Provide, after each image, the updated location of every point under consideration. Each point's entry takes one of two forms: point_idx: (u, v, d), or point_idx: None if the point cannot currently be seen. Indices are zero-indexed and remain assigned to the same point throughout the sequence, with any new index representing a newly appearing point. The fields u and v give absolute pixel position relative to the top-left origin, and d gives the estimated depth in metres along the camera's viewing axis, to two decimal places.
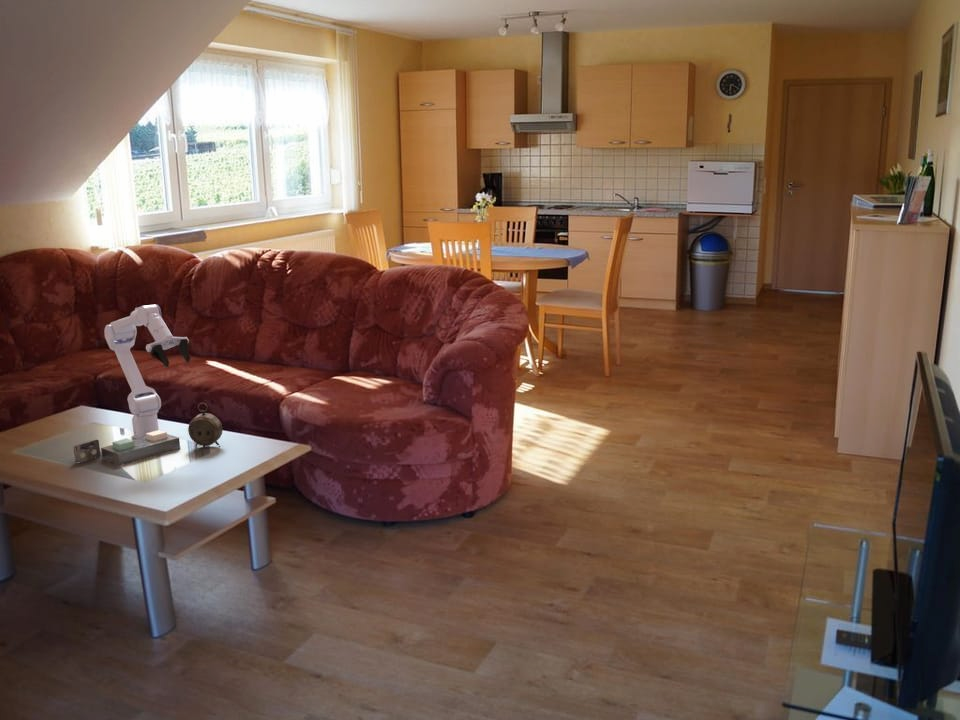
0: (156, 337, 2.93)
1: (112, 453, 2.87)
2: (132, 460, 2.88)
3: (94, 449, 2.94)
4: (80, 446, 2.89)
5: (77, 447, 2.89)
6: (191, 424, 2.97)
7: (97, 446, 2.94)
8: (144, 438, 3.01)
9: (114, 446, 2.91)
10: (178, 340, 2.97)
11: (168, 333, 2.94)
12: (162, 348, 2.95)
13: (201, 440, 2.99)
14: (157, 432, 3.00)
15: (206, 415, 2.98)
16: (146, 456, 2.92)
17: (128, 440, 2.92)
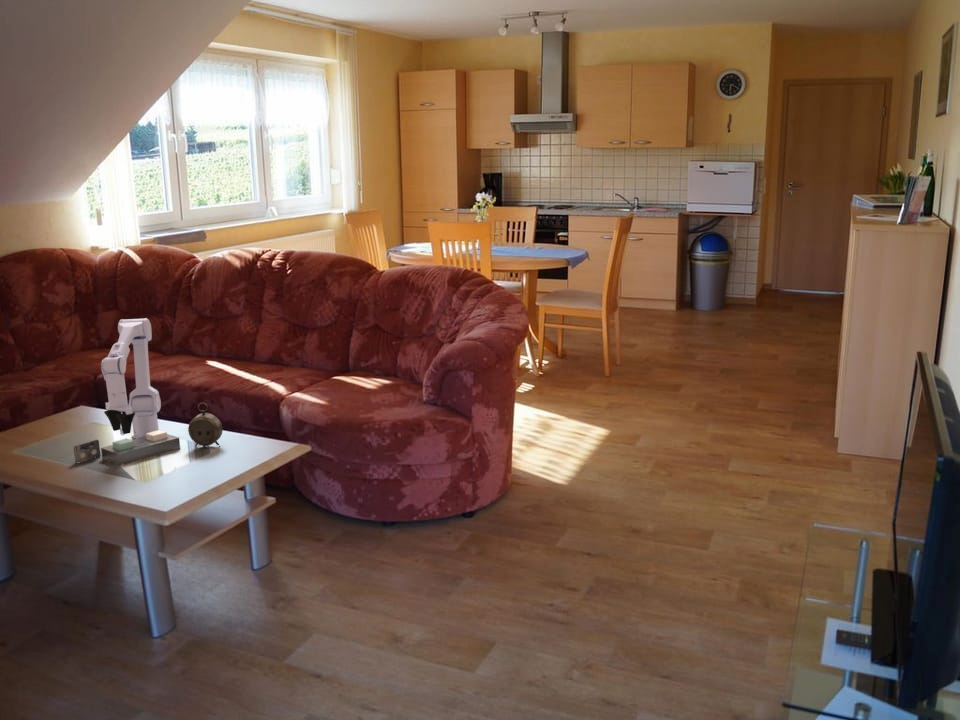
0: None
1: (112, 453, 2.87)
2: (132, 460, 2.88)
3: (94, 449, 2.94)
4: (80, 446, 2.89)
5: (77, 447, 2.89)
6: (191, 424, 2.97)
7: (97, 446, 2.94)
8: (144, 438, 3.01)
9: (114, 446, 2.91)
10: None
11: (111, 403, 2.86)
12: None
13: (201, 440, 2.99)
14: (157, 432, 3.00)
15: (206, 415, 2.98)
16: (146, 456, 2.92)
17: (128, 440, 2.92)
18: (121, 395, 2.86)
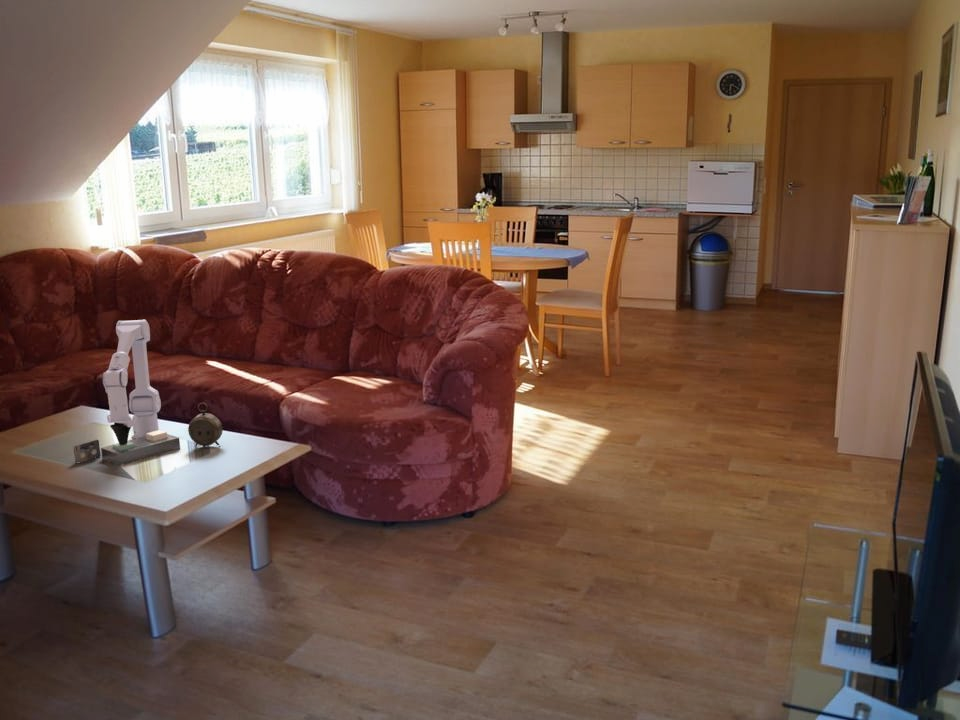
0: None
1: (112, 453, 2.87)
2: (132, 460, 2.88)
3: (94, 449, 2.94)
4: (80, 446, 2.89)
5: (77, 447, 2.89)
6: (191, 424, 2.97)
7: (97, 446, 2.94)
8: (144, 438, 3.01)
9: None
10: None
11: (113, 415, 2.87)
12: None
13: (201, 440, 2.99)
14: (157, 432, 3.00)
15: (206, 415, 2.98)
16: (146, 456, 2.92)
17: (128, 443, 2.92)
18: (123, 408, 2.87)
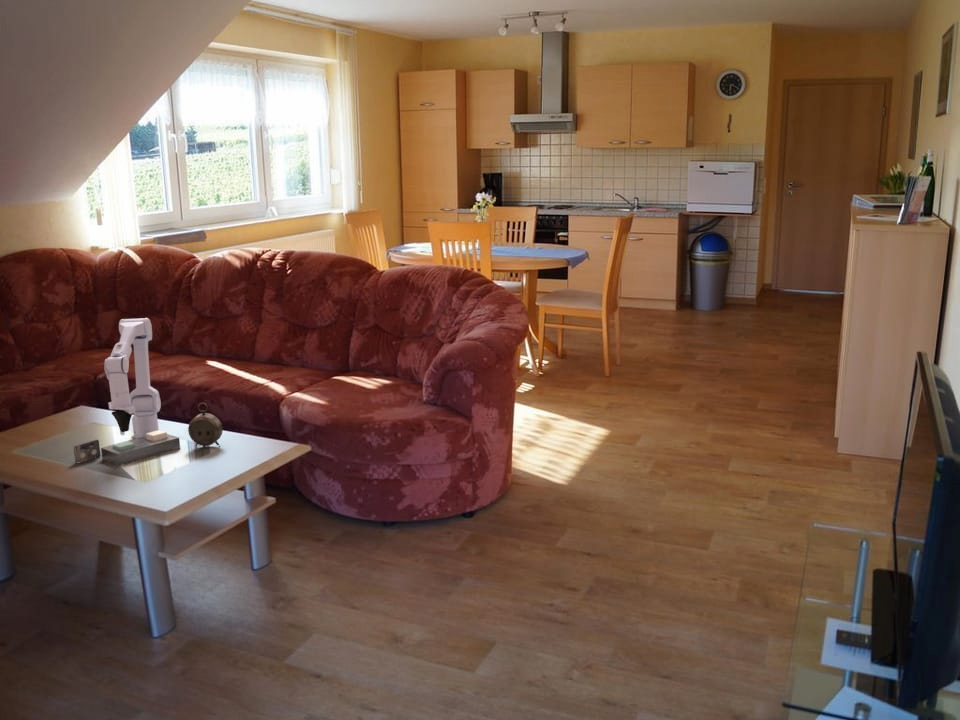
0: None
1: (112, 453, 2.87)
2: (132, 460, 2.88)
3: (94, 449, 2.94)
4: (80, 446, 2.89)
5: (77, 447, 2.89)
6: (191, 424, 2.97)
7: (97, 446, 2.94)
8: (144, 438, 3.01)
9: None
10: None
11: (114, 402, 2.87)
12: None
13: (201, 440, 2.99)
14: (157, 432, 3.00)
15: (206, 415, 2.98)
16: (146, 456, 2.92)
17: (128, 443, 2.92)
18: (124, 395, 2.87)
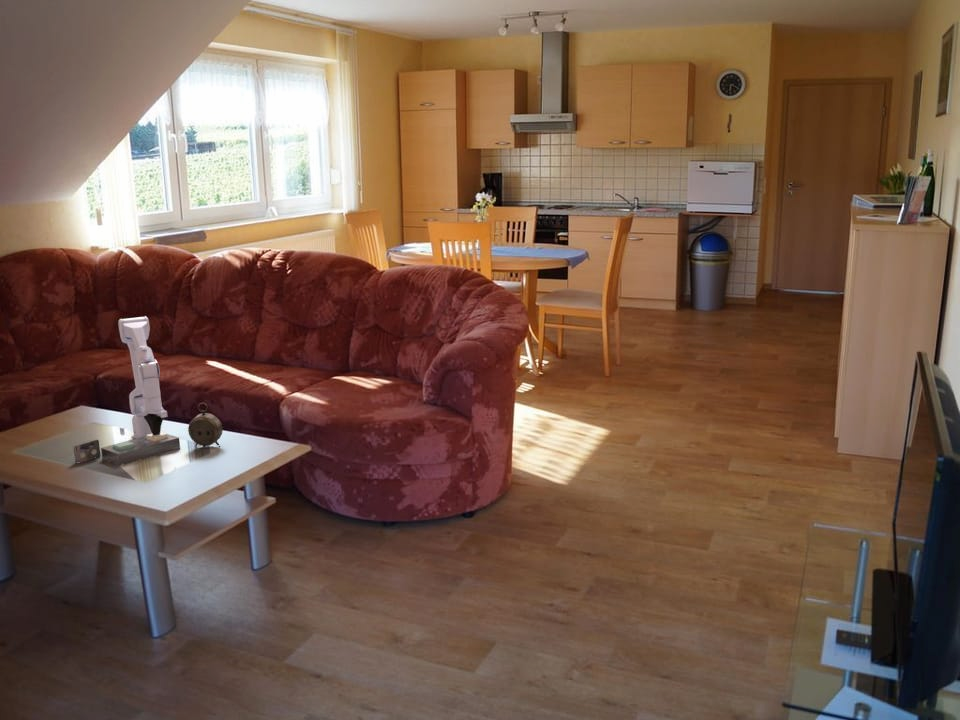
0: None
1: (112, 453, 2.87)
2: (132, 460, 2.88)
3: (94, 449, 2.94)
4: (80, 446, 2.89)
5: (77, 447, 2.89)
6: (191, 424, 2.97)
7: (97, 446, 2.94)
8: (144, 438, 3.01)
9: None
10: None
11: (146, 406, 2.95)
12: None
13: (201, 440, 2.99)
14: None
15: (206, 415, 2.98)
16: (146, 456, 2.92)
17: (128, 443, 2.92)
18: (156, 399, 2.96)
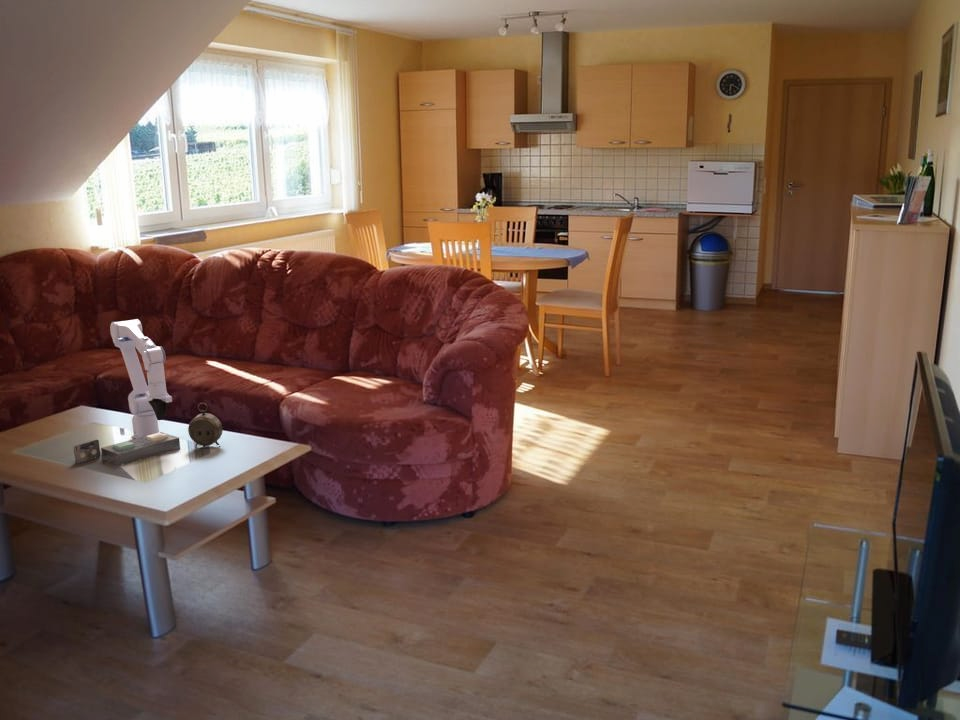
0: None
1: (112, 453, 2.87)
2: (132, 460, 2.88)
3: (94, 449, 2.94)
4: (80, 446, 2.89)
5: (77, 447, 2.89)
6: (191, 424, 2.97)
7: (97, 446, 2.94)
8: (144, 438, 3.01)
9: None
10: None
11: (151, 391, 3.00)
12: None
13: (201, 440, 2.99)
14: (157, 435, 3.01)
15: (206, 415, 2.98)
16: (146, 456, 2.92)
17: (128, 443, 2.92)
18: (161, 384, 3.00)
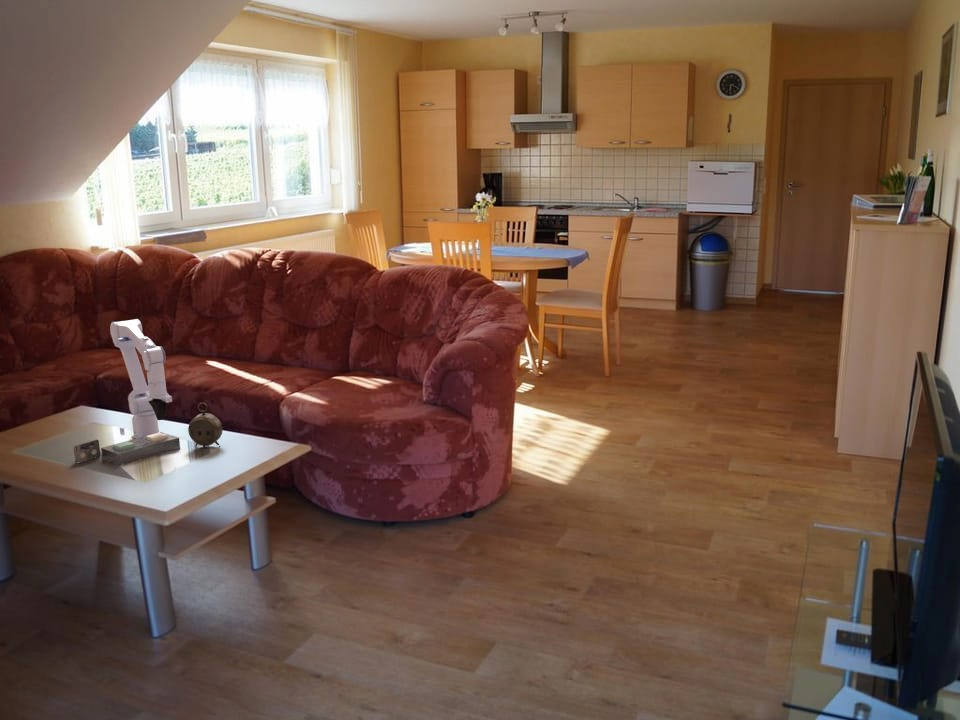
0: None
1: (112, 453, 2.87)
2: (132, 460, 2.88)
3: (94, 449, 2.94)
4: (80, 446, 2.89)
5: (77, 447, 2.89)
6: (191, 424, 2.97)
7: (97, 446, 2.94)
8: (144, 438, 3.01)
9: None
10: None
11: (151, 391, 3.00)
12: None
13: (201, 440, 2.99)
14: (157, 435, 3.01)
15: (206, 415, 2.98)
16: (146, 456, 2.92)
17: (128, 443, 2.92)
18: (161, 384, 3.00)
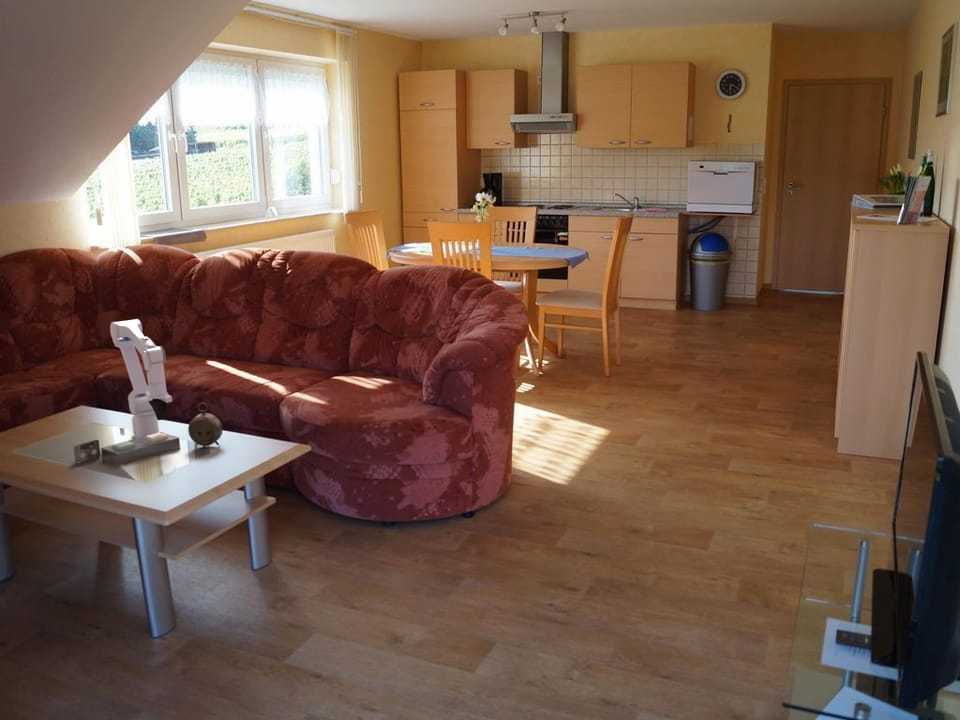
0: None
1: (112, 453, 2.87)
2: (132, 460, 2.88)
3: (94, 449, 2.94)
4: (80, 446, 2.89)
5: (77, 447, 2.89)
6: (191, 424, 2.97)
7: (97, 446, 2.94)
8: (144, 438, 3.01)
9: None
10: None
11: (151, 391, 3.00)
12: None
13: (201, 440, 2.99)
14: (157, 435, 3.01)
15: (206, 415, 2.98)
16: (146, 456, 2.92)
17: (128, 443, 2.92)
18: (161, 384, 3.00)
